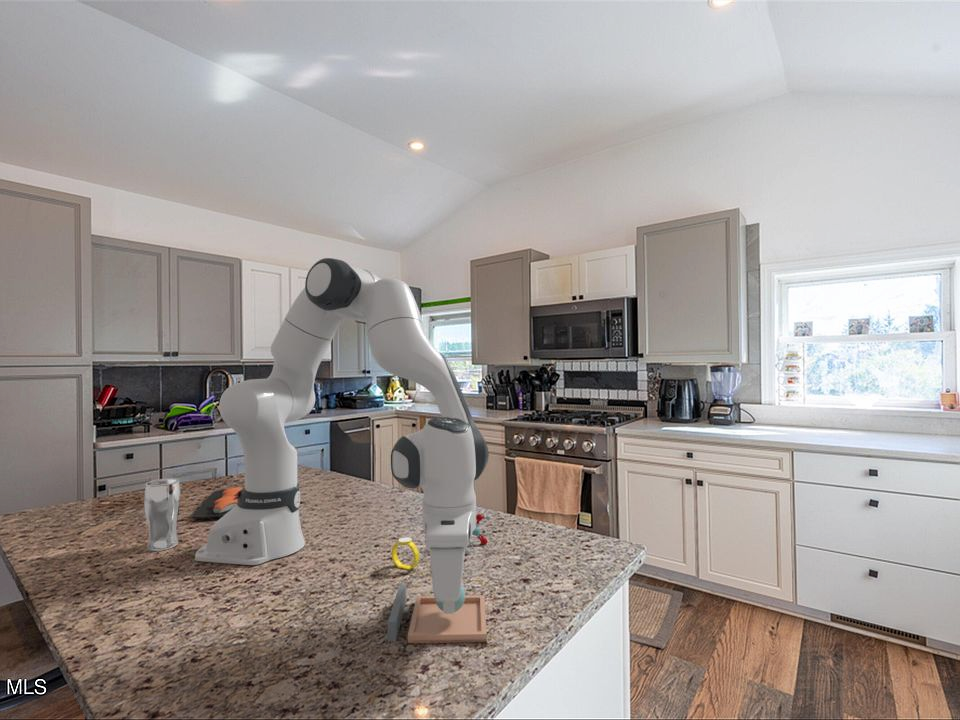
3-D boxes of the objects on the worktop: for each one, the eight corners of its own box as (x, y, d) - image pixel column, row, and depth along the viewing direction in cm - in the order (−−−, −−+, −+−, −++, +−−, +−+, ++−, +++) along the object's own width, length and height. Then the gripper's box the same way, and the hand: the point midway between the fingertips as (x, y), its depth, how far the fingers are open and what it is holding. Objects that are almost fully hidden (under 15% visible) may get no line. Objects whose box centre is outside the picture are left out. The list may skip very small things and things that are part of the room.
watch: (390, 569, 99) (388, 540, 99) (398, 564, 101) (396, 535, 101) (414, 572, 96) (412, 542, 96) (421, 567, 98) (420, 538, 99)
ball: (433, 619, 76) (433, 587, 76) (436, 603, 81) (435, 574, 81) (465, 618, 76) (464, 587, 76) (465, 603, 81) (465, 573, 81)
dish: (407, 643, 72) (407, 635, 72) (416, 602, 84) (416, 596, 84) (486, 642, 72) (486, 634, 72) (484, 601, 84) (484, 595, 84)
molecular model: (485, 544, 102) (467, 500, 106) (448, 563, 103) (432, 519, 107) (501, 541, 112) (485, 501, 116) (467, 558, 114) (452, 518, 118)
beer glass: (187, 543, 112) (187, 479, 112) (156, 554, 106) (156, 487, 106) (168, 538, 115) (168, 476, 115) (137, 549, 109) (137, 483, 109)
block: (387, 641, 73) (387, 621, 73) (399, 601, 85) (399, 584, 85) (395, 641, 73) (395, 621, 73) (406, 601, 85) (406, 584, 85)
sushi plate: (214, 495, 154) (214, 483, 154) (312, 487, 163) (312, 476, 163) (189, 525, 126) (189, 510, 126) (309, 514, 135) (309, 500, 135)
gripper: (434, 499, 89) (435, 573, 89) (424, 540, 68) (425, 637, 68) (468, 498, 89) (469, 572, 89) (468, 540, 68) (469, 636, 68)
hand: (449, 601), depth 78 cm, fingers closed on ball, 5 cm apart
